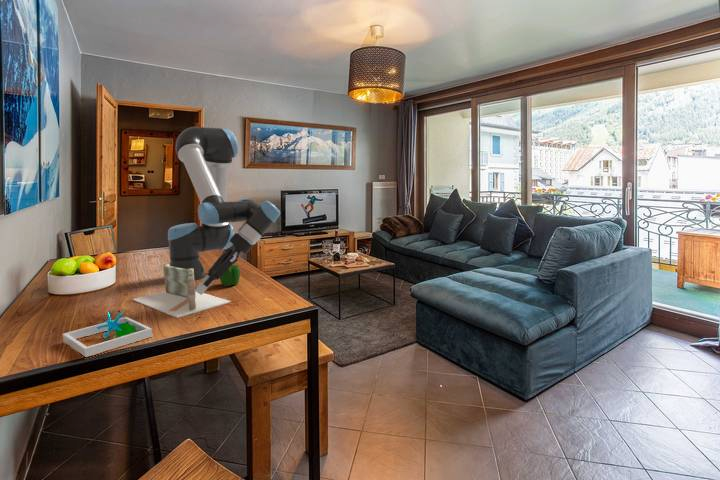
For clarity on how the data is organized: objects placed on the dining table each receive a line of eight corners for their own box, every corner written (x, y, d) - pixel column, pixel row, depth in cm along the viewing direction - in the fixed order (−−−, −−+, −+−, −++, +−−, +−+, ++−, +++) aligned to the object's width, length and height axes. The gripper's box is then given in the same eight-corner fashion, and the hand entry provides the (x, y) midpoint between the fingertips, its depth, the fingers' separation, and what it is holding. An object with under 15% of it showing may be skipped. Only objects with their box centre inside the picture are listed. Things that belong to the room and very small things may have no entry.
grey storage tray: (63, 342, 102) (62, 333, 101) (127, 324, 114) (126, 316, 114) (86, 358, 92) (84, 348, 92) (152, 337, 105) (151, 328, 104)
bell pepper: (236, 281, 163) (235, 257, 161) (243, 285, 156) (242, 261, 154) (216, 284, 158) (214, 260, 156) (222, 288, 151) (220, 263, 150)
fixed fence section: (197, 297, 139) (194, 268, 137) (191, 298, 137) (189, 270, 136) (169, 290, 148) (167, 263, 146) (164, 292, 146) (161, 264, 144)
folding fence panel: (189, 297, 137) (187, 270, 135) (195, 297, 138) (193, 270, 136) (189, 309, 124) (186, 279, 123) (195, 309, 125) (193, 279, 124)
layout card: (132, 300, 138) (132, 298, 138) (183, 287, 153) (183, 286, 153) (177, 318, 119) (177, 316, 119) (230, 302, 134) (230, 300, 134)
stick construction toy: (88, 331, 104) (107, 305, 106) (107, 336, 110) (124, 311, 113) (121, 349, 100) (139, 321, 103) (138, 353, 107) (155, 327, 109)
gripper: (257, 248, 131) (209, 304, 125) (248, 243, 142) (204, 293, 137) (240, 234, 127) (190, 290, 122) (233, 229, 139) (186, 281, 134)
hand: (197, 292), depth 130 cm, fingers closed
